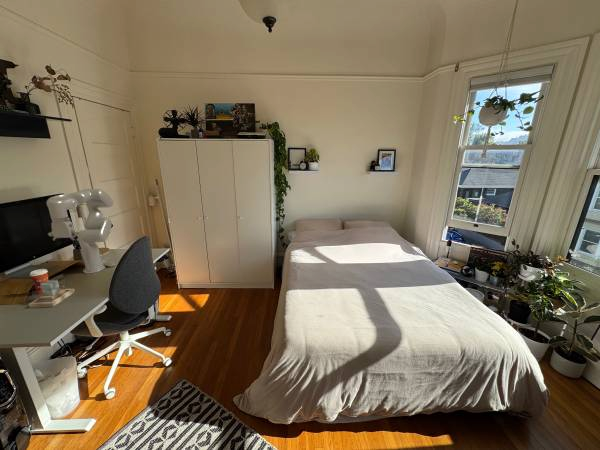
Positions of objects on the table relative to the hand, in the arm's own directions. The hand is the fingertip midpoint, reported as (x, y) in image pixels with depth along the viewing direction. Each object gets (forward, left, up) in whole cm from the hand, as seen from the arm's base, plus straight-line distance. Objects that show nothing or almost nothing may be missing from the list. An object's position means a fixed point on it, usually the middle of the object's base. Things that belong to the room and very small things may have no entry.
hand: (67, 245), depth 153 cm
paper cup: (+8, -13, -28) cm, 32 cm away
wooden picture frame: (+18, 0, -28) cm, 33 cm away
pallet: (+18, 0, -25) cm, 31 cm away
